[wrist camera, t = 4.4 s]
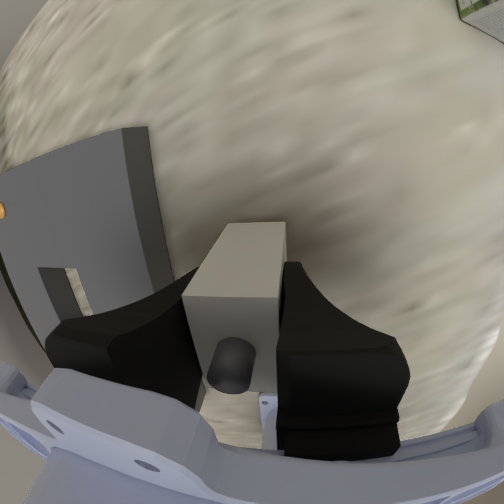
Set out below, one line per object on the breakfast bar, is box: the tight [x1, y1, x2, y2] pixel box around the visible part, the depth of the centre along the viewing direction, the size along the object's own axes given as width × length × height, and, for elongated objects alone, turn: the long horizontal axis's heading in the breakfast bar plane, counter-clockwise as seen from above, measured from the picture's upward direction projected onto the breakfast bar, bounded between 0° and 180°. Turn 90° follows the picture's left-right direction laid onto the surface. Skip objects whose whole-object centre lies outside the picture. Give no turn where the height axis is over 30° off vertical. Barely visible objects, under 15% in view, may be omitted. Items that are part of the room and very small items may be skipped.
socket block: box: [0, 127, 206, 412], centre depth 17 cm, size 20×15×3 cm
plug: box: [181, 222, 287, 394], centre depth 10 cm, size 4×3×7 cm, turn 5°
